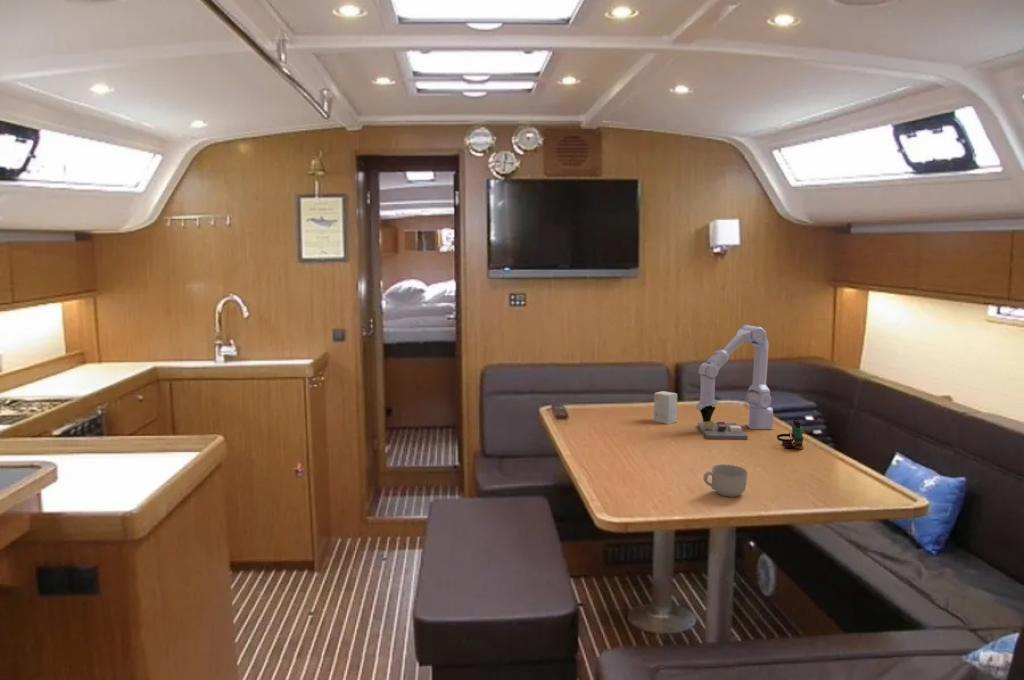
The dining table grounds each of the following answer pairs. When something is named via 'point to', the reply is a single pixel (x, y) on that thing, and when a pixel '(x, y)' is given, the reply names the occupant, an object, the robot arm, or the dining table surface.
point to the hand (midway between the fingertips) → (706, 423)
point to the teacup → (727, 479)
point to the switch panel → (722, 432)
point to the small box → (665, 407)
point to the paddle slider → (707, 425)
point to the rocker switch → (721, 425)
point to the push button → (735, 428)
